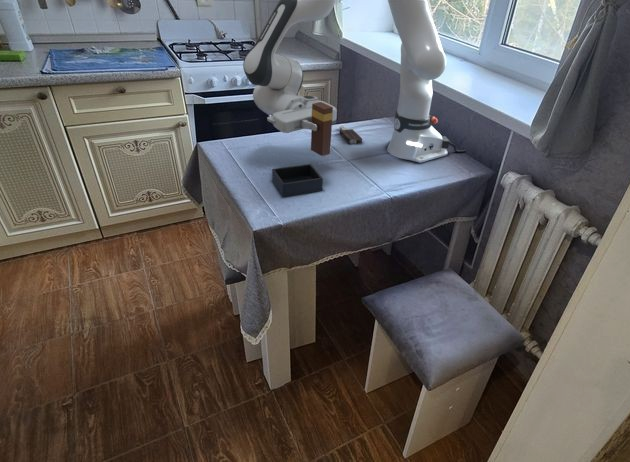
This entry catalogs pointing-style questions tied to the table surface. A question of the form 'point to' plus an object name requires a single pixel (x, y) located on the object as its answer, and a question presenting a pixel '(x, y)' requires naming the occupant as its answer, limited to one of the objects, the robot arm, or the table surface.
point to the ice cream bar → (350, 136)
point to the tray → (297, 180)
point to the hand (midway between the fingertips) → (323, 126)
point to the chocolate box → (321, 128)
